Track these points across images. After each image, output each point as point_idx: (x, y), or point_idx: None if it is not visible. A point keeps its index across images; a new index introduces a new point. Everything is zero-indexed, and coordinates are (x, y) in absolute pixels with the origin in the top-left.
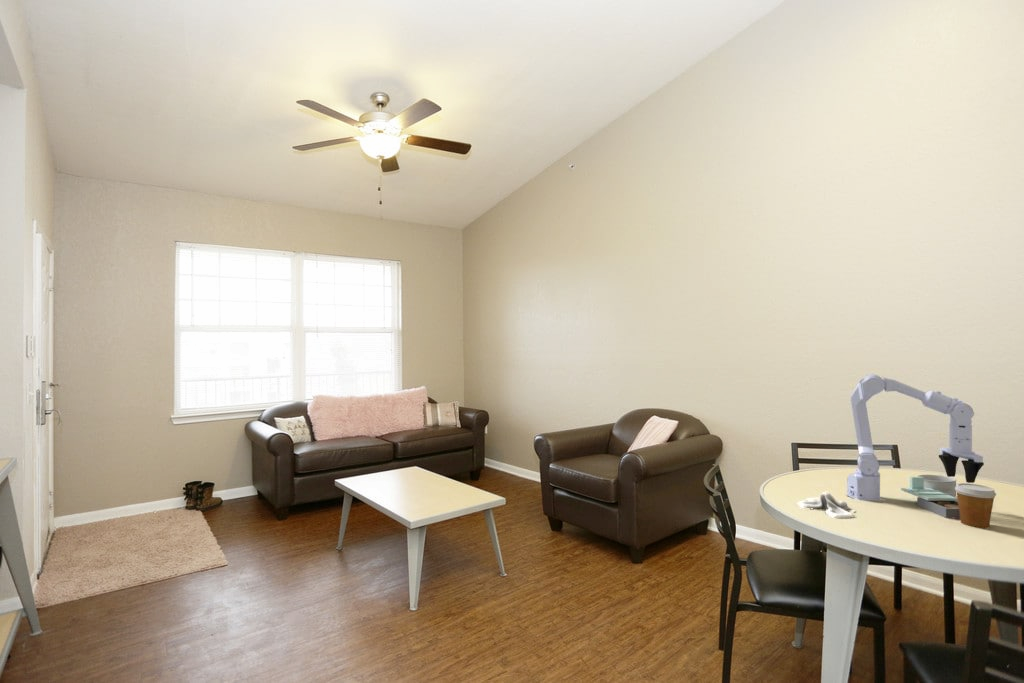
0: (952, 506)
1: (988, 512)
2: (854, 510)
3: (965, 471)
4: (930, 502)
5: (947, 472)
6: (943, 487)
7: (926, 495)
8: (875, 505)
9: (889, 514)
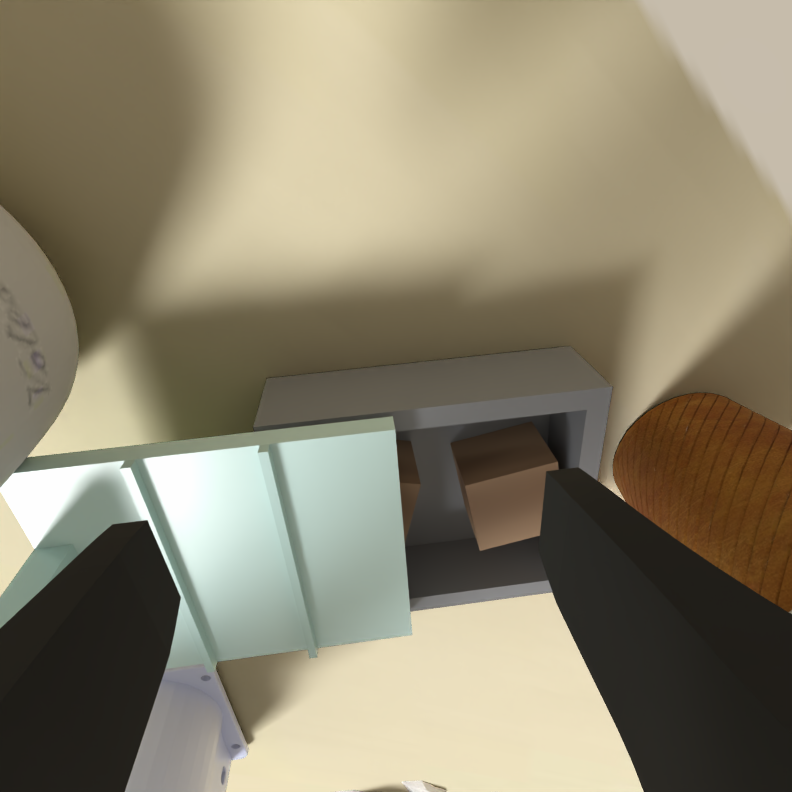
0: (524, 522)
1: None
2: (421, 790)
3: (652, 770)
4: (435, 607)
5: (160, 681)
6: (24, 405)
7: (333, 614)
8: (304, 711)
9: (457, 705)
